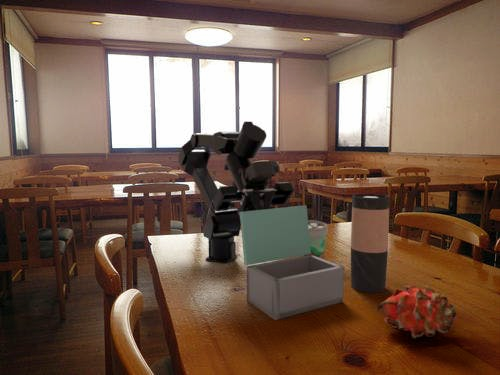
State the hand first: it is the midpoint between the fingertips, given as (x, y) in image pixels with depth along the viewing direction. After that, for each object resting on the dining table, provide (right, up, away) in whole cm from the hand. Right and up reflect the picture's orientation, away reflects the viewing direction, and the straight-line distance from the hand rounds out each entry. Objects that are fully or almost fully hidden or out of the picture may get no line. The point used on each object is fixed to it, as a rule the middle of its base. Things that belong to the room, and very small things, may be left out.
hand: (268, 226), depth 83 cm
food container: (+13, -11, +19) cm, 26 cm away
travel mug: (+21, -13, +1) cm, 25 cm away
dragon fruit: (+23, -16, -20) cm, 34 cm away
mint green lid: (+2, -1, -3) cm, 4 cm away
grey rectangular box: (+5, -14, -7) cm, 16 cm away
